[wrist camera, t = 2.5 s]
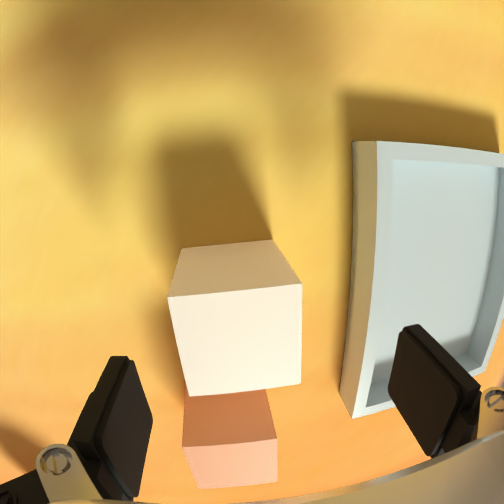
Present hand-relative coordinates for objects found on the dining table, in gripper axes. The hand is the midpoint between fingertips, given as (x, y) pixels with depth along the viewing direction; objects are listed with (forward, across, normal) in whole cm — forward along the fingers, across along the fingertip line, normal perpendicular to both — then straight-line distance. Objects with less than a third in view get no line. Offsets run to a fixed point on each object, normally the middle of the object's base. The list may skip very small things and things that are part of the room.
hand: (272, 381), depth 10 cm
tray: (+7, -11, 0) cm, 13 cm away
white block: (+7, +1, -1) cm, 7 cm away
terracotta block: (+7, +2, +7) cm, 10 cm away
